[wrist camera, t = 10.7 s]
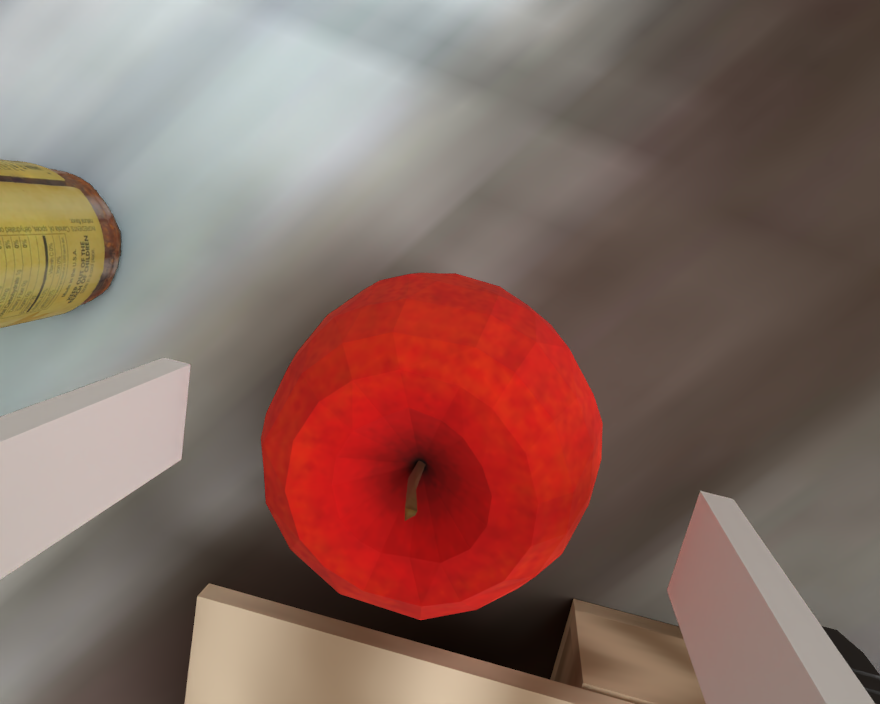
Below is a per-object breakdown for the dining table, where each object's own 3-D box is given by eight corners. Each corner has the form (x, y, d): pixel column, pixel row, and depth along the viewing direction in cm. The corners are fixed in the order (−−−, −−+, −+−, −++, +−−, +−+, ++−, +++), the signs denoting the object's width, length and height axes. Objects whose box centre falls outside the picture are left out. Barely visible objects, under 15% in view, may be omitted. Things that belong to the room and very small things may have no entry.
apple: (389, 513, 27) (277, 741, 15) (309, 305, 25) (114, 375, 13) (610, 454, 25) (683, 664, 13) (535, 224, 23) (541, 222, 11)
